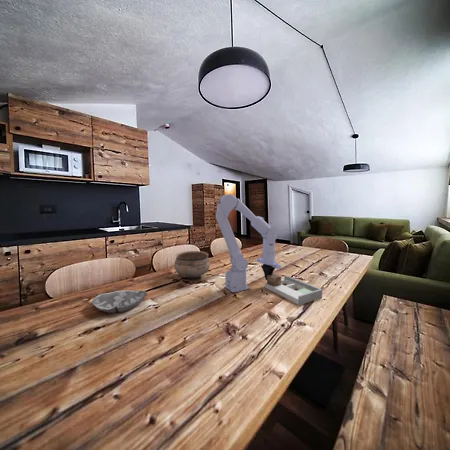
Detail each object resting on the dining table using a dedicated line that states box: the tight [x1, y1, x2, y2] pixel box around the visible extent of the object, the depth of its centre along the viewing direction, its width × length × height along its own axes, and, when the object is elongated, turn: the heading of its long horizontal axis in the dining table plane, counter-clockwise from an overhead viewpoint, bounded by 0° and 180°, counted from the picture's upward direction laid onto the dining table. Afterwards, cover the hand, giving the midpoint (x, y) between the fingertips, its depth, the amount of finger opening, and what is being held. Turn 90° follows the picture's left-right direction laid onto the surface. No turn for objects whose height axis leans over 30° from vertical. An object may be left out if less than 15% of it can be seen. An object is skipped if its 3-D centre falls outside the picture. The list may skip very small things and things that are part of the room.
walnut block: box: [266, 273, 282, 287], centre depth 102 cm, size 4×4×4 cm
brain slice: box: [91, 289, 147, 314], centre depth 85 cm, size 20×17×3 cm
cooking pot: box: [173, 250, 211, 280], centre depth 117 cm, size 25×19×12 cm
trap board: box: [264, 275, 323, 306], centre depth 98 cm, size 14×21×4 cm, turn 31°
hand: (268, 279), depth 106 cm, fingers closed
